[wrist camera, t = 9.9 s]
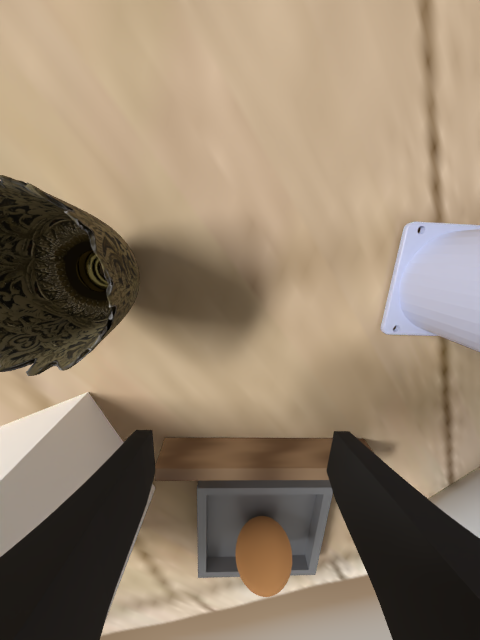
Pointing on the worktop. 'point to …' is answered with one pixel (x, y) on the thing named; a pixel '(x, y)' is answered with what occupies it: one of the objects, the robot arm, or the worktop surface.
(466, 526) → the tube
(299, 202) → the worktop surface
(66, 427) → the milk
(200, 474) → the fence
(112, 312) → the cup
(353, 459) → the robot arm
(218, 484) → the tray
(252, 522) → the egg
